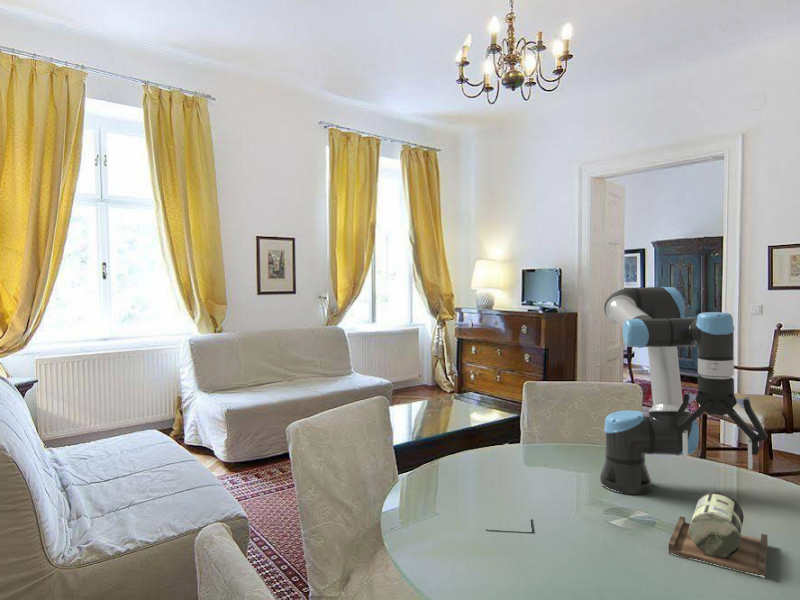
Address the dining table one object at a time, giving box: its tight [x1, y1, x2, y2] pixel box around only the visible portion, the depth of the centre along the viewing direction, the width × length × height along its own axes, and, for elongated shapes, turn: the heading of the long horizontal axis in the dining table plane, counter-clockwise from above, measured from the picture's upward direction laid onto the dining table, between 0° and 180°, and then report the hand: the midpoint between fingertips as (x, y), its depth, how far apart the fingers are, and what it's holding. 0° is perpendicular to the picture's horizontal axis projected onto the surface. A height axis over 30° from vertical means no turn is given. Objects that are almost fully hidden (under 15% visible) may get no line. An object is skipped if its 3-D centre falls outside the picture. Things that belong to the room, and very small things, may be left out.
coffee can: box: [689, 491, 745, 558], centre depth 125 cm, size 10×10×14 cm
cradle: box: [668, 515, 768, 576], centre depth 125 cm, size 17×19×3 cm
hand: (716, 462), depth 126 cm, fingers open, 13 cm apart
